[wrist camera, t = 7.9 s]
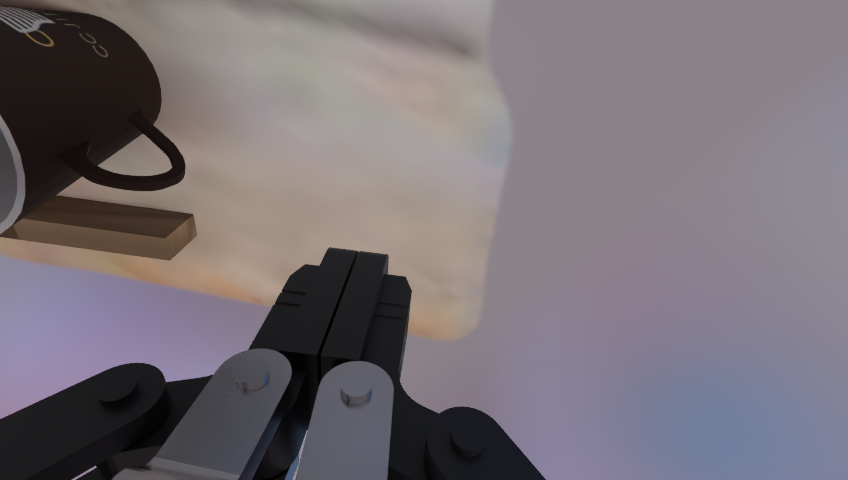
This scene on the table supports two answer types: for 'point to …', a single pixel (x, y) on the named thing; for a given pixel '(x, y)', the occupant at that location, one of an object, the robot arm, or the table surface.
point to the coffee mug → (71, 107)
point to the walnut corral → (106, 228)
